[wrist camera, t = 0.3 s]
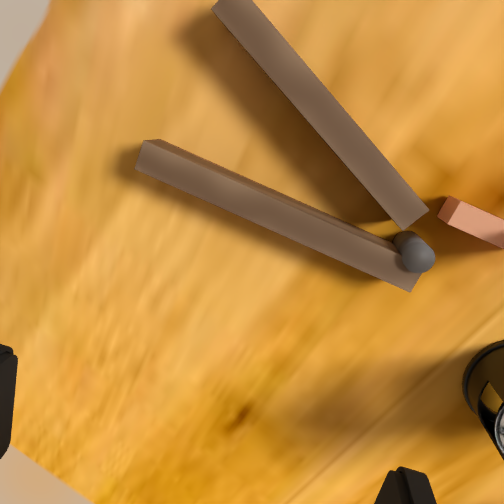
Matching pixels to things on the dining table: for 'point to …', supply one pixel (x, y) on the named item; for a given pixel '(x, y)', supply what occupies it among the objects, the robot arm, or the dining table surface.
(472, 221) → the tab
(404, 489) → the robot arm
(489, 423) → the french press
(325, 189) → the dining table surface
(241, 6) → the tongs jaw
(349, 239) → the tongs fixed jaw
